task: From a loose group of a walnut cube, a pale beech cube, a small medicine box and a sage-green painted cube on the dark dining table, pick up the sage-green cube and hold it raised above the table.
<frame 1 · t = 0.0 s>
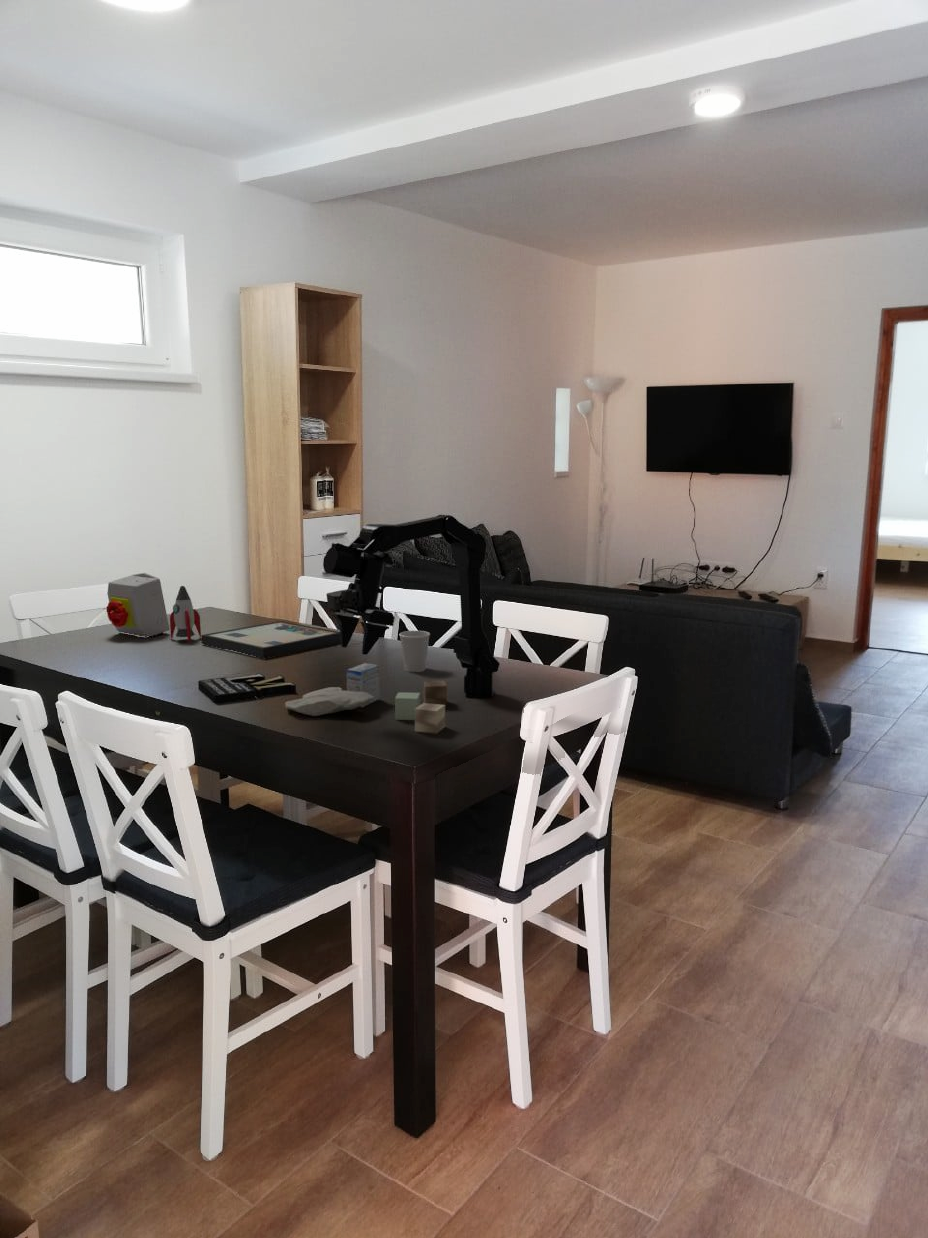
hand: (353, 650, 207), 15 cm above the table, tool pointing down, fingers open, 9 cm apart
toy: (188, 640, 295), on the table
rock: (323, 713, 215), on the table
board game box: (272, 646, 289), on the table
sage cube: (407, 717, 211), on the table
dixie cup: (415, 670, 255), on the table
walnut cube: (435, 704, 221), on the table
decorative sign: (247, 693, 234), on the table
medicine box: (363, 703, 222), on the table
beech cube: (430, 729, 202), on the table
electrical switch box: (135, 636, 302), on the table
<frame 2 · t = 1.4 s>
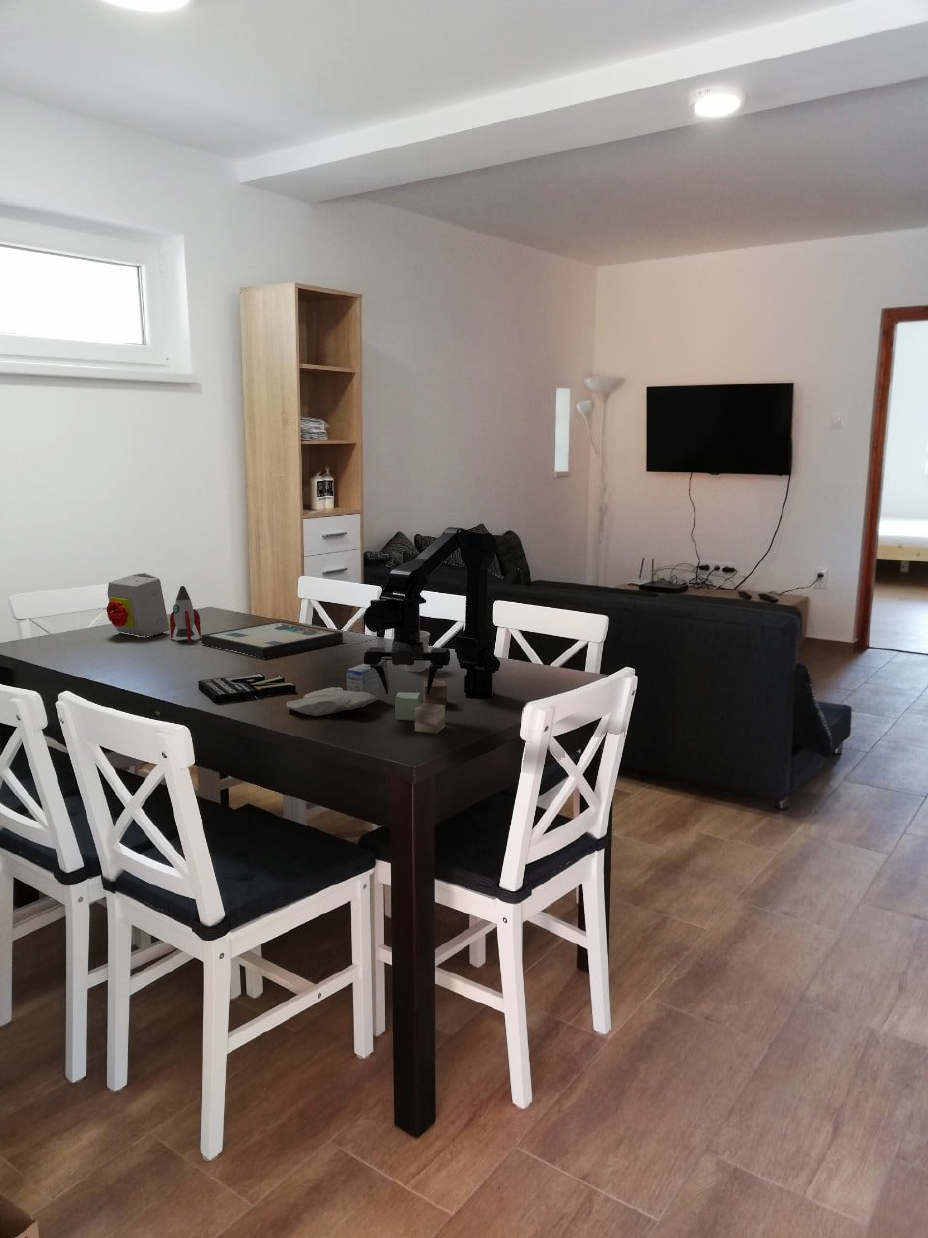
hand: (407, 693, 210), 5 cm above the table, tool pointing down, fingers open, 9 cm apart
nothing on the table moved.
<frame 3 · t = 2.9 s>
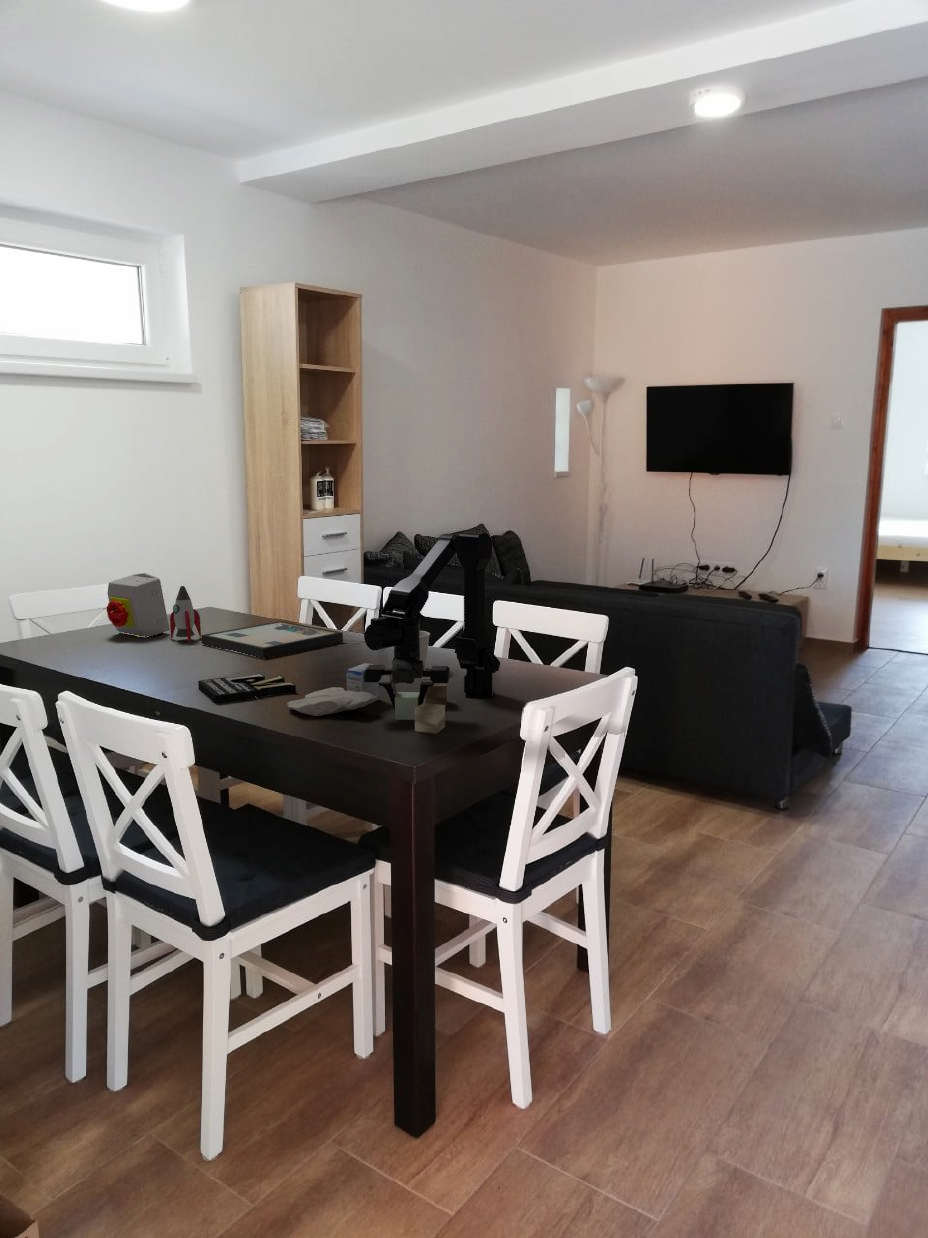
hand: (407, 711, 211), 1 cm above the table, tool pointing down, fingers closed on sage cube, 5 cm apart
sage cube: (407, 716, 211), on the table, touching gripper
everything else where it was.
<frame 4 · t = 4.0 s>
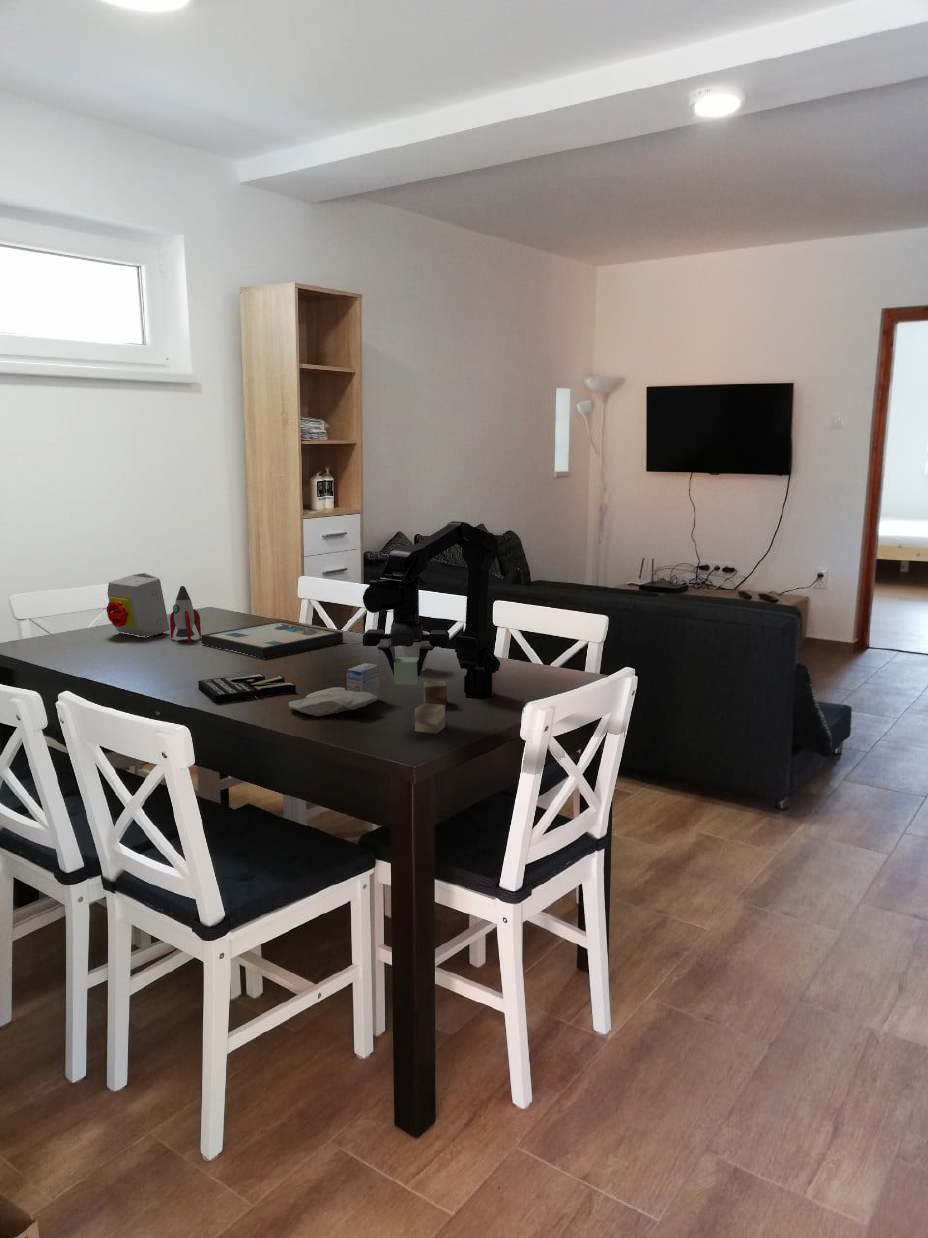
hand: (406, 676, 209), 9 cm above the table, tool pointing down, fingers closed on sage cube, 5 cm apart
sage cube: (406, 681, 209), point 8 cm above the table, touching gripper
everything else where it was.
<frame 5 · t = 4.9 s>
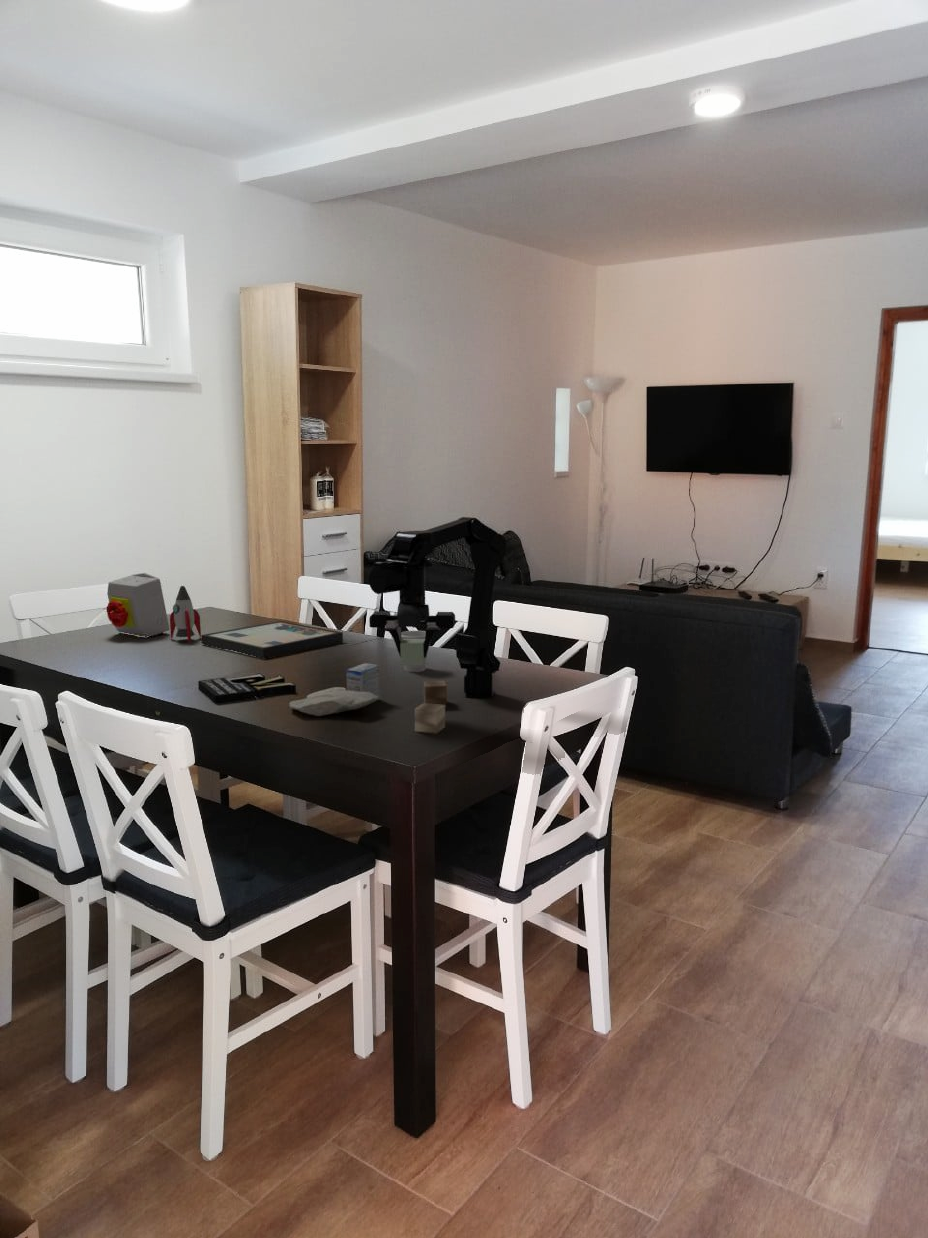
hand: (413, 657, 211), 13 cm above the table, tool pointing down, fingers closed on sage cube, 5 cm apart
sage cube: (413, 662, 211), point 12 cm above the table, touching gripper
everything else where it was.
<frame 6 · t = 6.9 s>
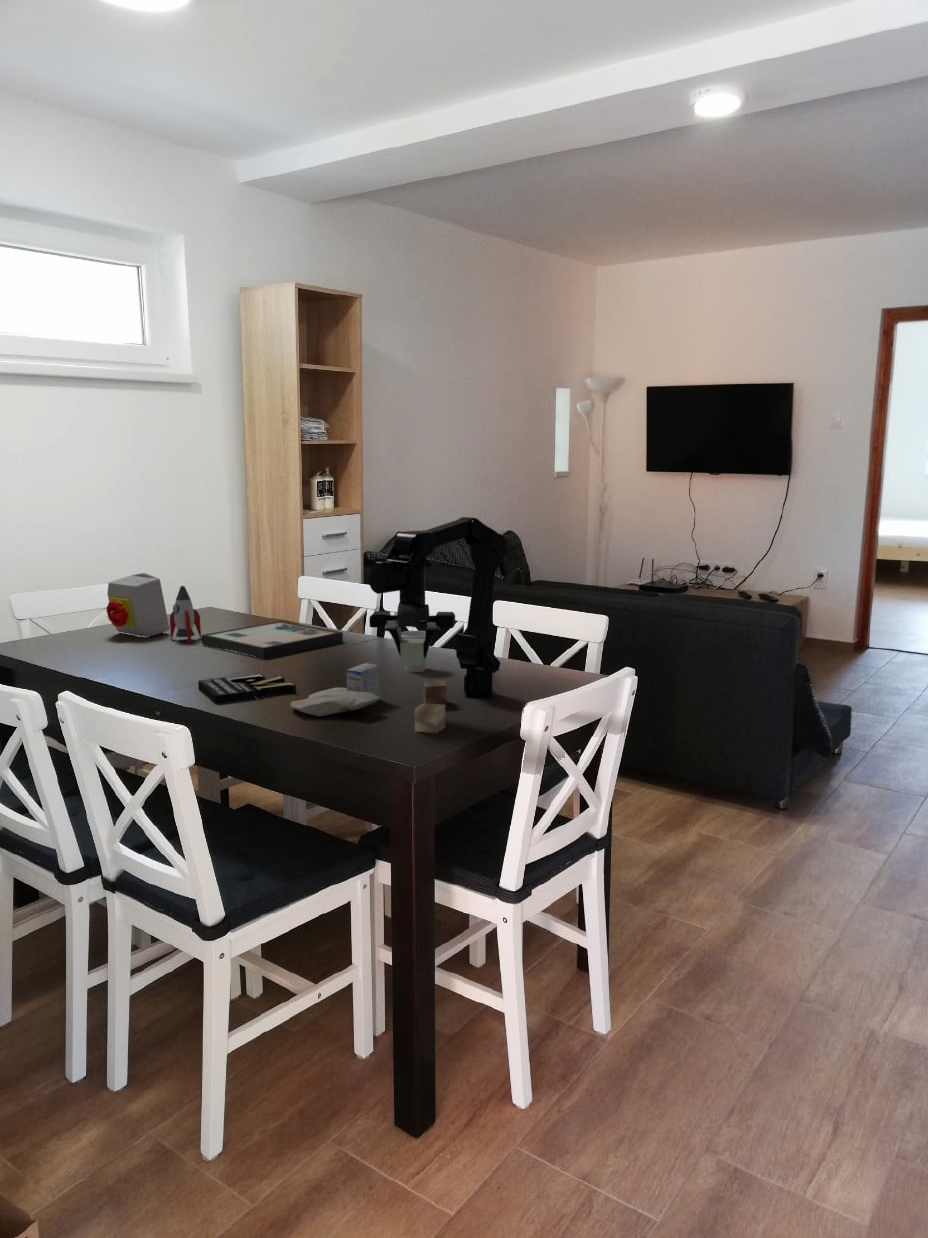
hand: (413, 657, 211), 13 cm above the table, tool pointing down, fingers closed on sage cube, 5 cm apart
sage cube: (413, 662, 211), point 12 cm above the table, touching gripper
at the end: the gripper is holding sage cube; sage cube point 11.7 cm above the table; walnut cube moved 0.1 cm from its start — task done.
